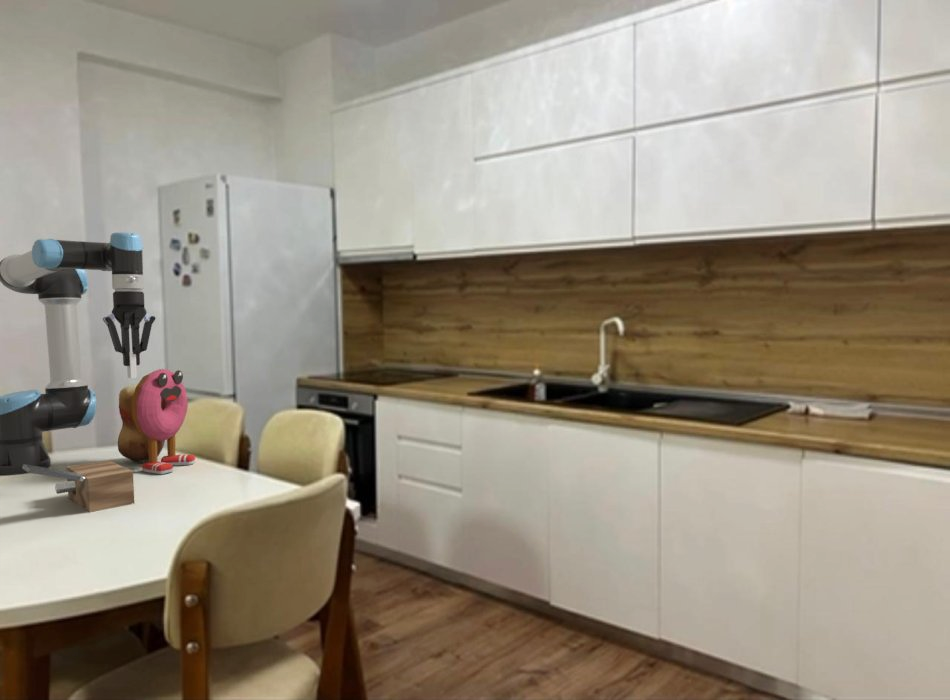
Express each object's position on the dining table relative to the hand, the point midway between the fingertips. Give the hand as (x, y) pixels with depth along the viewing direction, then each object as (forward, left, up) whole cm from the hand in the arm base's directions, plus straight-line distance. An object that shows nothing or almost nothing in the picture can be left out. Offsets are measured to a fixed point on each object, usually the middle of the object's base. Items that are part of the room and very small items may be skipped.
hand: (132, 377), depth 185 cm
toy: (-13, +13, -30) cm, 35 cm away
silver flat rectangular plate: (+15, -18, -21) cm, 32 cm away
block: (+10, -12, -29) cm, 33 cm away
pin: (+6, -13, -28) cm, 31 cm away
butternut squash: (-27, +11, -30) cm, 42 cm away
